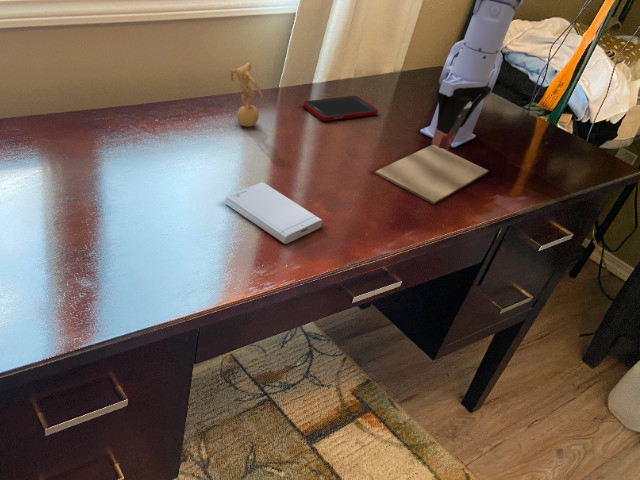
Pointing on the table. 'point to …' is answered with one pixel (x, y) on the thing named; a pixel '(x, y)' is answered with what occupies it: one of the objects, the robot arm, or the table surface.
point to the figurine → (247, 112)
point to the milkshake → (446, 140)
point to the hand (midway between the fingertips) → (449, 128)
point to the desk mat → (432, 173)
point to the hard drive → (273, 212)
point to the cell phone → (340, 108)
